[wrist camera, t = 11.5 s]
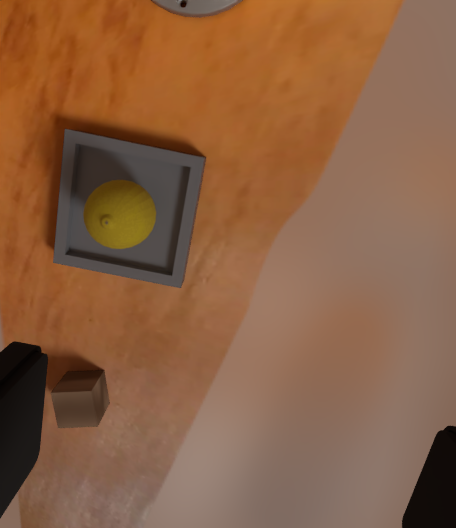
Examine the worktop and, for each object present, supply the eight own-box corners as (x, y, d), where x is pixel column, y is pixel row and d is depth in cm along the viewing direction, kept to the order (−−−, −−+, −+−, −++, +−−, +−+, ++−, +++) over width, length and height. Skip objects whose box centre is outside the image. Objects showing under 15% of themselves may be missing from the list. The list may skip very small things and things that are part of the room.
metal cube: (67, 371, 44) (50, 392, 40) (104, 369, 44) (91, 391, 40) (73, 404, 45) (58, 428, 41) (109, 402, 45) (97, 426, 41)
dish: (74, 129, 37) (64, 128, 35) (206, 157, 37) (204, 157, 35) (63, 256, 40) (53, 262, 38) (183, 280, 41) (180, 288, 39)
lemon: (162, 239, 38) (144, 262, 31) (103, 235, 38) (69, 257, 31) (164, 178, 37) (144, 186, 29) (102, 174, 37) (66, 181, 29)
